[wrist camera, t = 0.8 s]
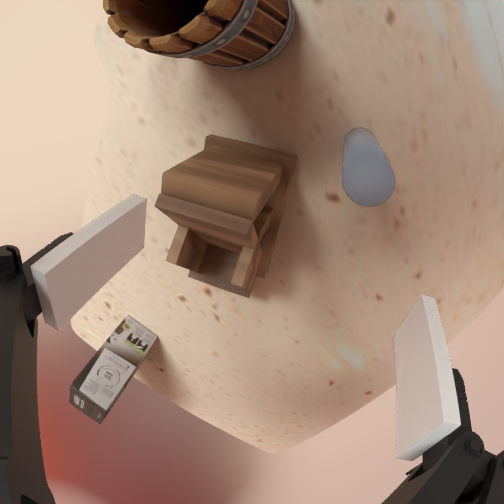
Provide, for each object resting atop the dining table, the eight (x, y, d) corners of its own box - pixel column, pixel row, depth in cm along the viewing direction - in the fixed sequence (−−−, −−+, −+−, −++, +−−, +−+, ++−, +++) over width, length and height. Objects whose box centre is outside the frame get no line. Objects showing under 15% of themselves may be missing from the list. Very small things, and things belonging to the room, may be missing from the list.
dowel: (349, 123, 27) (350, 147, 17) (381, 134, 27) (402, 165, 17) (340, 154, 29) (335, 196, 19) (371, 165, 28) (384, 213, 19)
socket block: (210, 134, 31) (146, 165, 21) (297, 156, 30) (269, 197, 20) (194, 260, 40) (145, 323, 30) (263, 283, 39) (231, 357, 29)
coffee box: (127, 313, 49) (69, 383, 36) (159, 336, 50) (107, 412, 36) (116, 339, 54) (67, 402, 41) (144, 359, 55) (100, 426, 41)
